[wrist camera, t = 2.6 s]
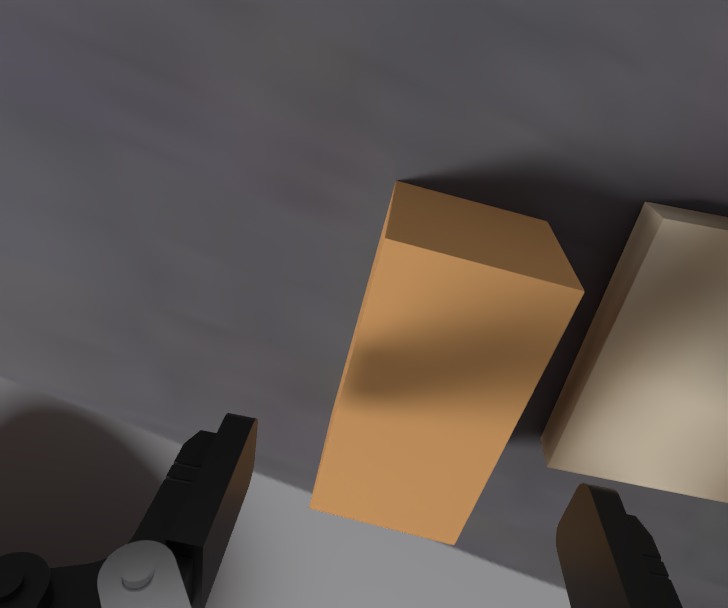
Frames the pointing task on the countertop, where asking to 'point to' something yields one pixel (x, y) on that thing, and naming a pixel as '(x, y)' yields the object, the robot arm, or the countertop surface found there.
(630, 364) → the plywood board
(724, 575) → the countertop surface
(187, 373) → the countertop surface
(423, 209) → the block
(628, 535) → the robot arm
